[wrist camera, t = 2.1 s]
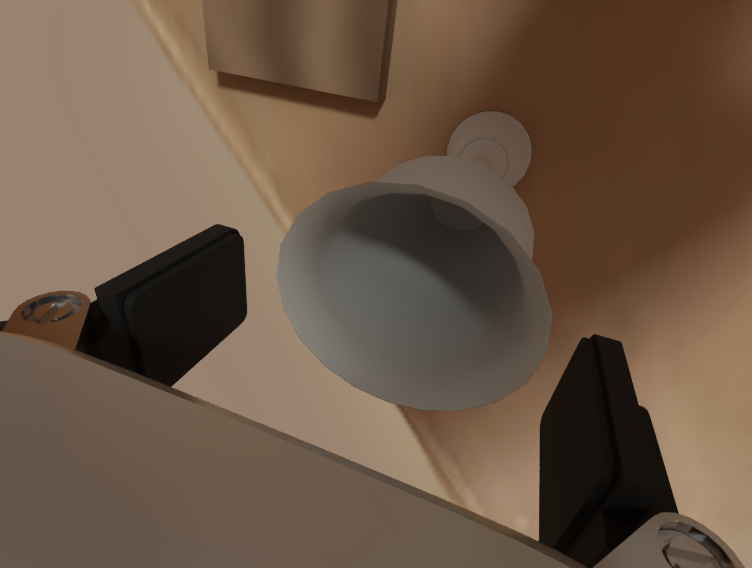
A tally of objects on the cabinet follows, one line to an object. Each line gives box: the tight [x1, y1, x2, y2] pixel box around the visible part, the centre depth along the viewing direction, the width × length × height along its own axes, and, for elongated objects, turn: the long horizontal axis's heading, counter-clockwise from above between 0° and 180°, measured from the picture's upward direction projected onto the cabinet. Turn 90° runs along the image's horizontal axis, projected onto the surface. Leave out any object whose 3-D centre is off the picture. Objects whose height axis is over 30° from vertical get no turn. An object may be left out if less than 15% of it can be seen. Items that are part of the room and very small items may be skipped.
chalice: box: [277, 111, 553, 411], centre depth 18 cm, size 7×7×18 cm
